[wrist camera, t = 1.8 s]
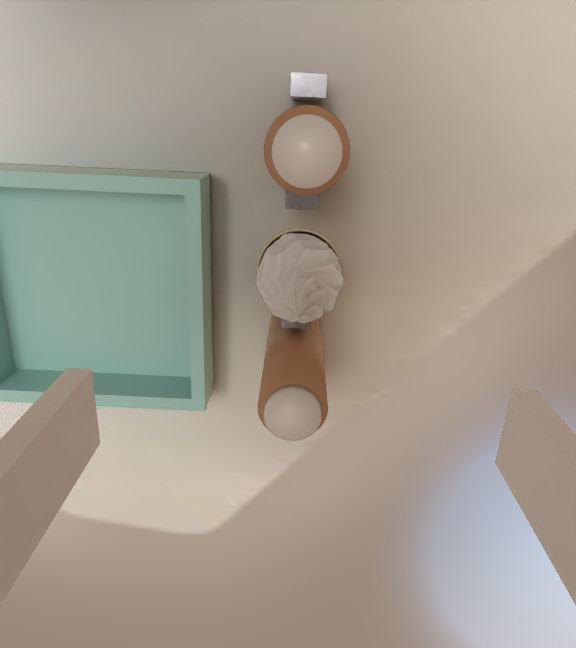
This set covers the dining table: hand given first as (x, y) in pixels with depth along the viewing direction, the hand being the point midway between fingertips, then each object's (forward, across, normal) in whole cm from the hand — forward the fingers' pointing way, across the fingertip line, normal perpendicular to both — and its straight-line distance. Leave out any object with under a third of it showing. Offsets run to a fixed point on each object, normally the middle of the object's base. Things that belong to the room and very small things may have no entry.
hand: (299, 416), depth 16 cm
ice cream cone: (+24, 0, 0) cm, 24 cm away
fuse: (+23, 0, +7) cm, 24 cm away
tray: (+23, -15, -4) cm, 28 cm away
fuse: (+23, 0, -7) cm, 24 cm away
